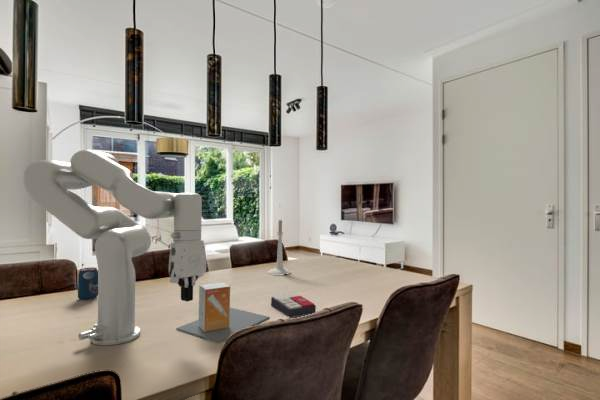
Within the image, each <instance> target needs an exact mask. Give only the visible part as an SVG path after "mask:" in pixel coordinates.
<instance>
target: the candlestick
mask: <svg viewBox="0 0 600 400" xmlns="http://www.w3.org/2000/svg"><path fill="white" fill-rule="evenodd" d="M276 233H277V237H278V241H277V251H276V253H277V254H276V257H277V258H276V267H274V268H272V269H270V270H268V272H267V273H270V274H287V273H290V272H291V270H290V269H287V268H285V267H284V264H283V263H284V262H283V259H284V258H283V238H282V237H283V234H284V231H283V220H282V219H280V220H278V231H276ZM291 273H292V272H291ZM270 274H269V275H270Z"/></svg>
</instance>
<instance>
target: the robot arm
mask: <svg viewBox="0 0 600 400" xmlns="http://www.w3.org/2000/svg"><path fill="white" fill-rule="evenodd" d="M23 185H24V188H25V191H26V192H27V194H28V196H29V197H30V199H31V200H32V201H33V202H34V203H35V204H37V205H38V206H40V207H41V209H43V210H45V211H46V212H47V213H49V214H50V215H52V216H53V217H55V218H56V219H57V220H58V221H59V222H60V223H62V224H63V225H64V226H66V228H69V229H70V230H71V232H74V234H76V235H77V236H79V237H80V238H83V239H85V240H94V239H96V240H95V244H94V252H95V253H94V254H95V258H96V262H97V271H98V296H97V299H98V300H97V323H95V324H93V327H92V328H90V330H85V331H83V332H82V331H81V332H79V333H78V340H79V341H84V340H86V339H88V340H90V341H91V343H93V345H98V346H114V345H119V344H120V345H121V344H124V343H128V342H130V341H133V340H134V339H136V338H138V337H139V336H140V335H141V327H139V326H137V325H135V323H136V320H135V319H136V316H135V315H136V269H135V266H134V263H133V260H132V259H133V258H136V257H139V256H141V255H144V254H145V253H146V252H147V251H148V250H149V249H150V247H151V244H152V239H151V236H150V233H149V231H148V230H147V229H146V228H144V227H143V226H142V225H141V224H140V223H138V221H135V219H133V218H132V217H130V216H129V215H128V214H126V213H125V212H123V211H122V210H121V209H118V208H115V207H112V206H95V205H93V204H90V203H89V202H87V201H86V200H84V199H83V198H82V197H81V196H80V195H78V194H77V193H74V192H73V191H71V190H74V191H75V190H81V189H86V188H89V187H92V186H97V187H99V188H100V189H102V190H104V191H105V192H108V193H109V194H111V195H112V197H113V198H114V199H115V200H116V202H117V203H118V204H119V205H120V206H122V208H123V207H124V208H125V209H127V210H129V211H130V212H132V213H134V214H135V215H138V216H140V217H141V218H145V219H148V220H149V219H150V220H156V219H168V218H173V233H171V234H170V238H171V239H173V241H171V245H170V249H169V255H168V275H169V276H170V278H169V282H170V283H171V284H172V283H173V284H177V285H178V287H180V300H181V301H184V302H186V303H187V302H188V303H189V302H190V301H193V300H194V287H195V285H196V281H197V280H198V279H199V278H201V277H203V276H204V274H205V273H206V272H207V254H206V246H205V242H204V240H203V239H202V219H203V218H202V209H203V208H202V206H203V205H202V204H203V203H202V202H203V201H202V200H203V198H202V195H201V194H199V193H195V192H180V193H179V192H178V193H175V192H169V191H168V192H167V191H166V192H165V191H153V190H152V189H148V188H147V187H144V186H143V185H141V183H140V184H139V183H138V182H137V181H134V175H133V172H132V171H131V170H130V169H129V168H127V167H125V166H123V165H121V164H120V162H119V159H117V158H116V157H115V156H114V155H112V154H110V153H106V152H104V151H103V152H101V151H97V150H92V149H81V150H79V151H77V152H74V154H73V155H72V156H71V158H70V161H69V162H66V161H61V160H60V161H59V160H55V159H40V160H35V161H32V162H31V163H29V164H28V165H27V166H26V167H25V169H24V171H23Z"/></svg>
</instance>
